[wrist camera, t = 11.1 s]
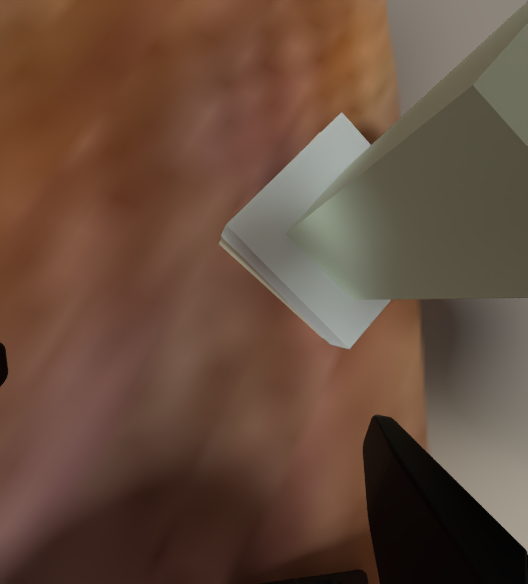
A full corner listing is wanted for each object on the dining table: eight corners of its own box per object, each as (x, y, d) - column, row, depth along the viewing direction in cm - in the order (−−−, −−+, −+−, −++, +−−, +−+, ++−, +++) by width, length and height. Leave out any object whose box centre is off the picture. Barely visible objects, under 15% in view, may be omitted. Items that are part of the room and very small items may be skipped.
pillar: (353, 299, 18) (659, 295, 6) (285, 233, 18) (472, 84, 6) (411, 232, 19) (788, 108, 7) (347, 166, 19) (632, -96, 6)
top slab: (330, 344, 21) (349, 349, 18) (220, 235, 20) (225, 224, 17) (420, 240, 22) (448, 231, 20) (324, 135, 21) (341, 112, 19)
